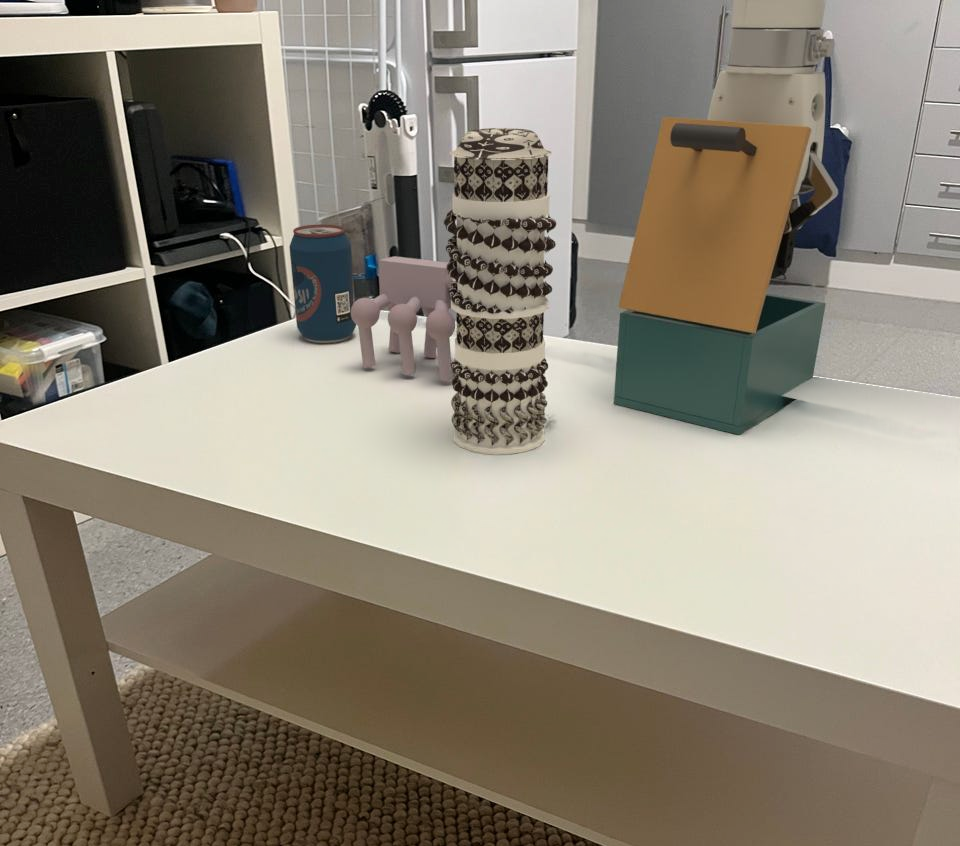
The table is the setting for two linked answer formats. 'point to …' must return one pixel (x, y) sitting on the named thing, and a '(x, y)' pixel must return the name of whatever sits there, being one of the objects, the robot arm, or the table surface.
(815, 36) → the robot arm
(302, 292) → the soda can
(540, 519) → the table surface
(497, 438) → the decorative candle
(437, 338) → the pink pegged block
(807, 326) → the teal open box
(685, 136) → the lid
